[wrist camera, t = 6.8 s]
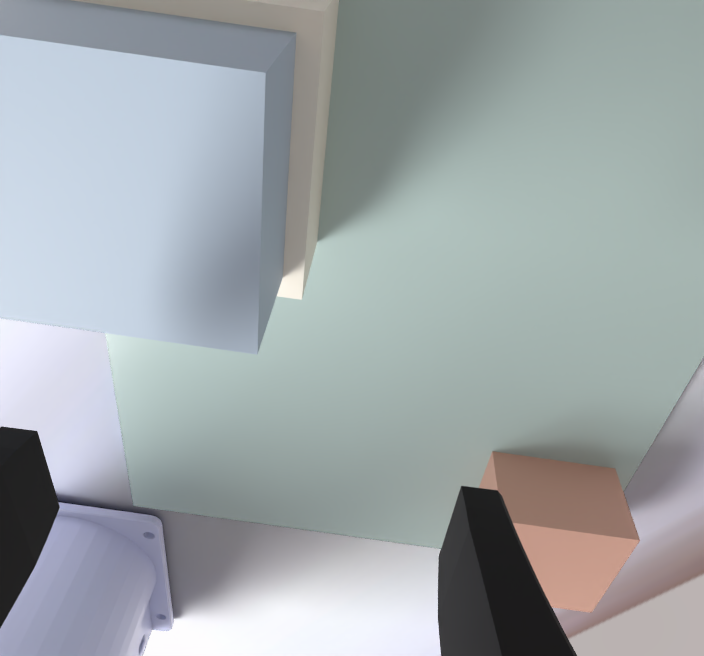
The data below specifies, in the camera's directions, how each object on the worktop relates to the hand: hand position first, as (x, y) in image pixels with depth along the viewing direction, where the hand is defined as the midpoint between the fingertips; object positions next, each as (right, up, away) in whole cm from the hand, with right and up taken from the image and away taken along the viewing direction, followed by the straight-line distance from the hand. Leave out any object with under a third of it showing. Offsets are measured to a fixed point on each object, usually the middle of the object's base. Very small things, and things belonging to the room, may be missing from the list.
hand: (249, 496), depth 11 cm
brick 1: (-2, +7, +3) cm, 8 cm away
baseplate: (+3, +3, +9) cm, 10 cm away
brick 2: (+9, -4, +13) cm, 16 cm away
